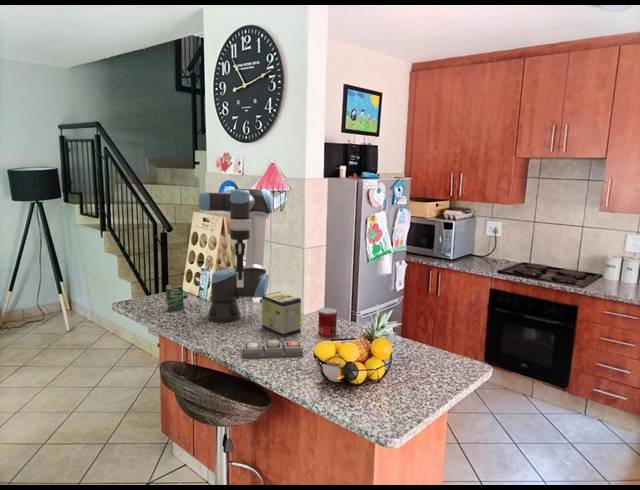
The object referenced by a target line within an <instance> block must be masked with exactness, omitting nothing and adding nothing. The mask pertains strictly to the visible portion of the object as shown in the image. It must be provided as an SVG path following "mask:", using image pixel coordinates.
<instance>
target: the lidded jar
mask: <svg viewBox="0 0 640 490" xmlns="http://www.w3.org/2000/svg"><path fill="white" fill-rule="evenodd" d="M326 363H327V365H324V364H323V367H322V371H323V374H324V375H325V376H326V378H327V379H328V380H329V381H332V382H335V383H339V382H342V381H340V380H336V379H335V378H338V377H339V376H340V373H341V372H340V369H339V367H338V366H340V363H336V362H330V361H326Z"/></svg>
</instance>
